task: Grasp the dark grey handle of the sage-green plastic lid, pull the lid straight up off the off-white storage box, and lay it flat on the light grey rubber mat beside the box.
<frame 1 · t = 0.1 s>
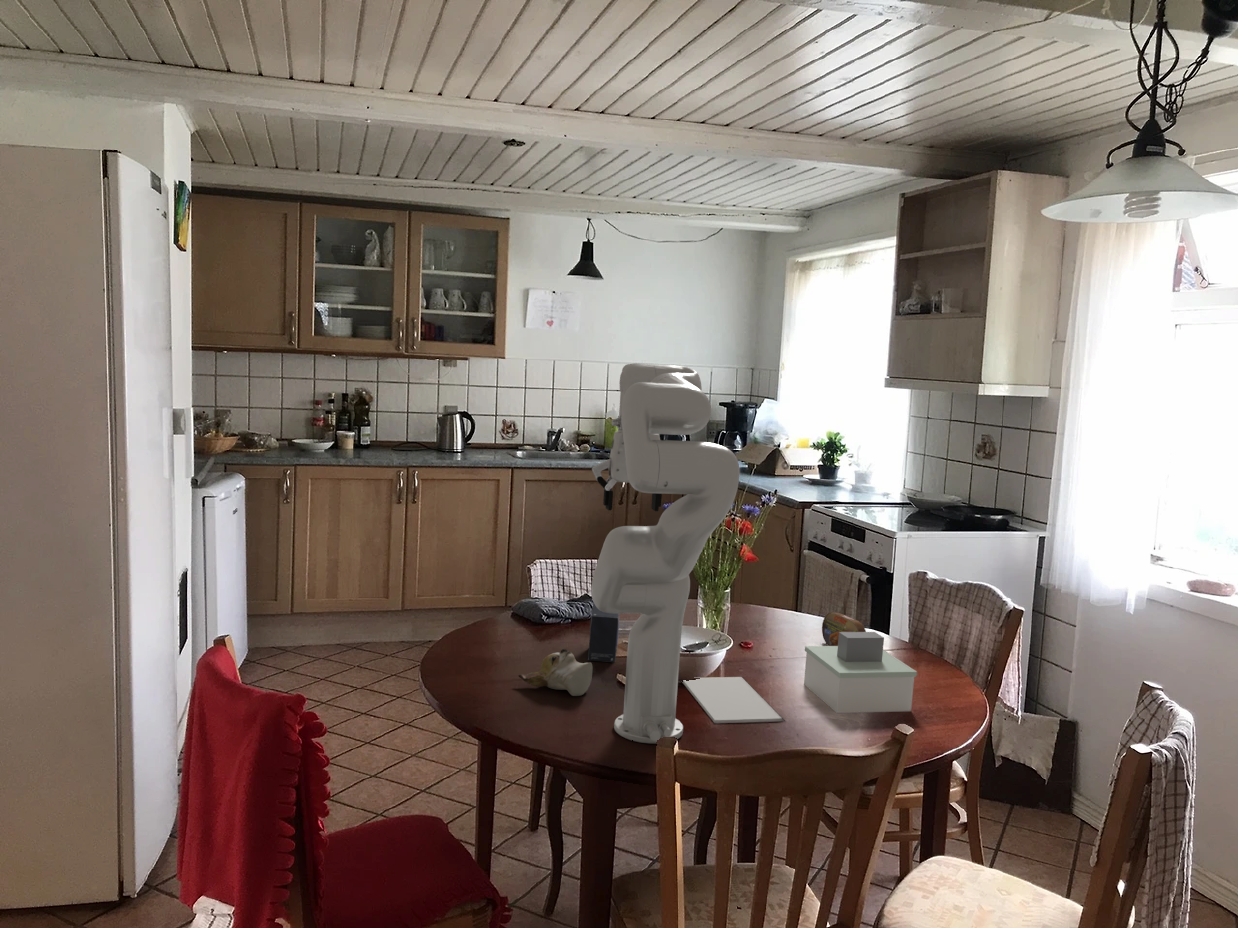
hand: (631, 509, 189), 37 cm above the table, fingers open, 9 cm apart
small box: (602, 656, 212), on the table
lid: (858, 669, 191), point 7 cm above the table, touching storage box
mat: (751, 699, 189), on the table
tin: (842, 650, 227), on the table
storage box: (855, 700, 192), on the table
ceramic sculpture: (560, 690, 189), on the table
ash block: (855, 697, 192), point 1 cm above the table, touching storage box
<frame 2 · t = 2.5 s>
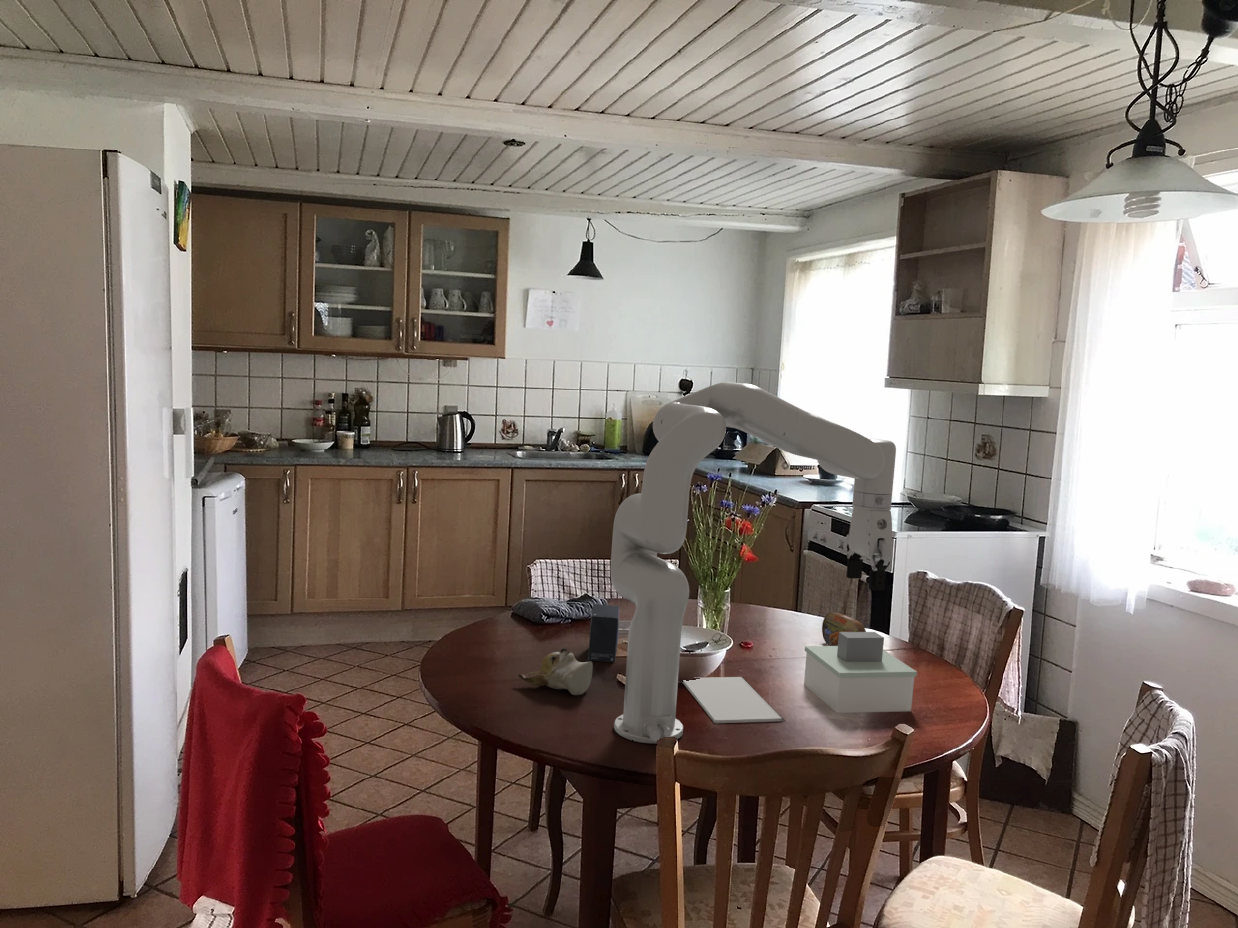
hand: (864, 583, 189), 25 cm above the table, fingers open, 9 cm apart
nothing on the table moved.
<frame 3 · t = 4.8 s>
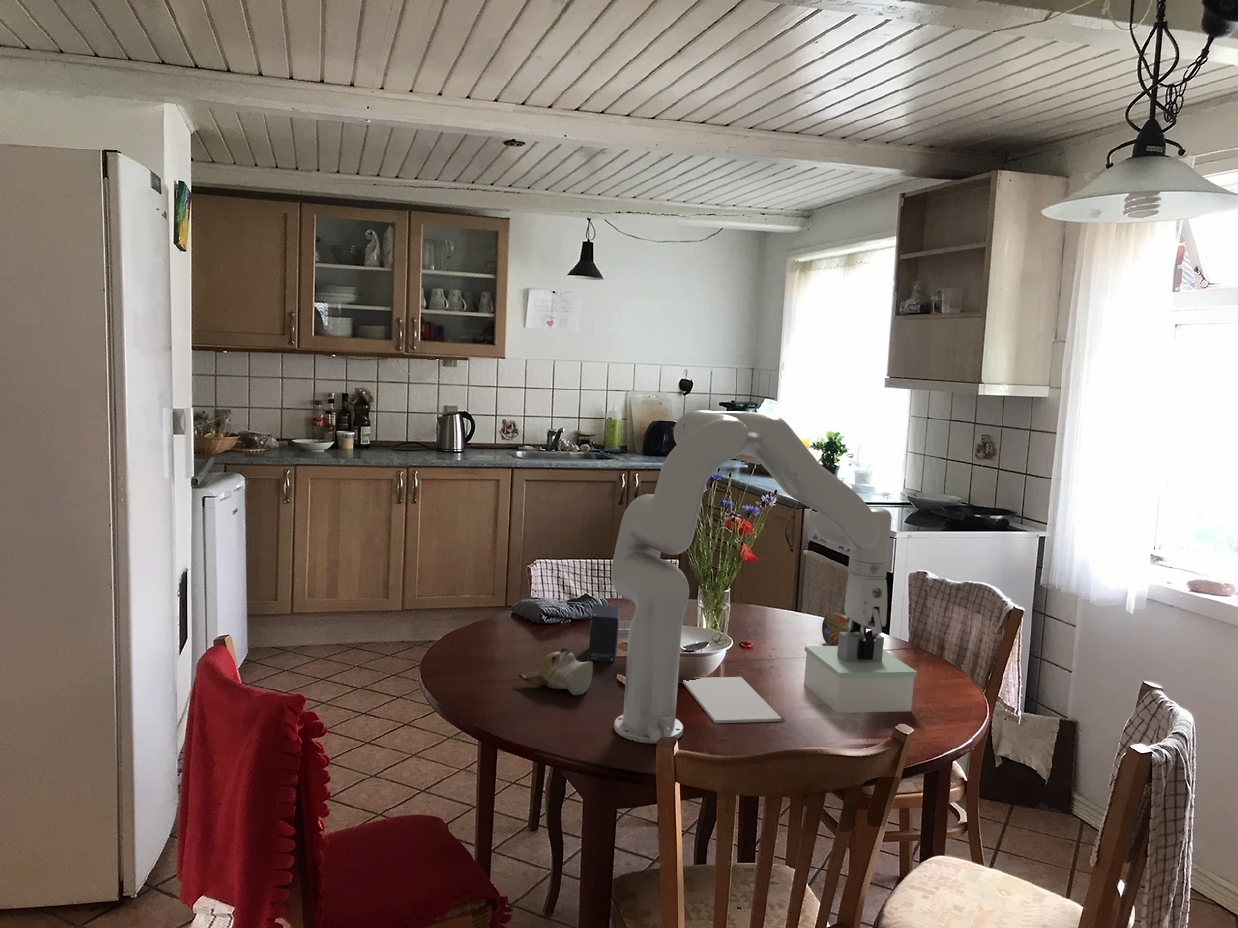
hand: (859, 654, 191), 10 cm above the table, fingers closed on lid, 4 cm apart
lid: (858, 669, 191), point 7 cm above the table, touching gripper, storage box
everything else where it was.
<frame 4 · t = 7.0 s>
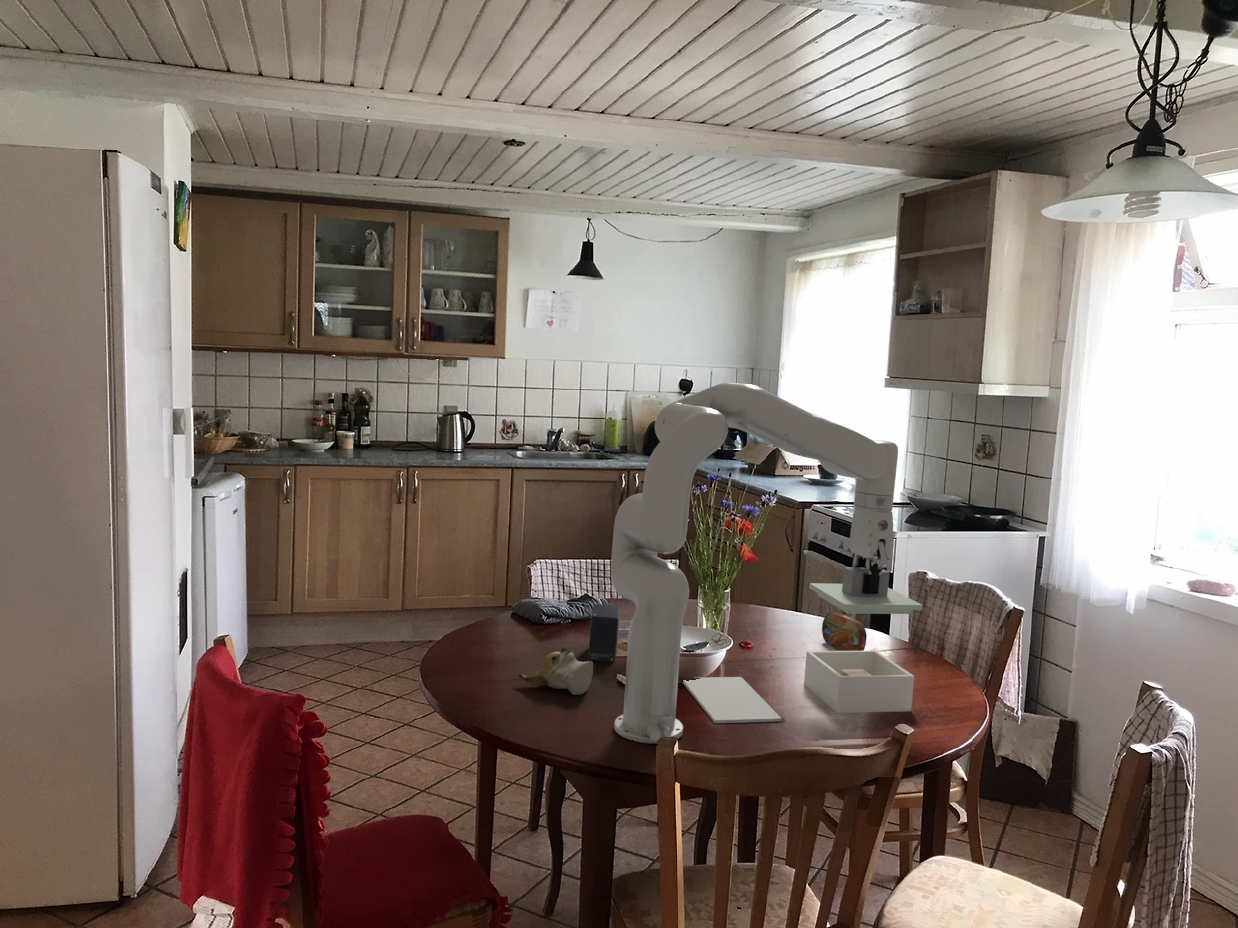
hand: (864, 589, 189), 23 cm above the table, fingers closed on lid, 4 cm apart
lid: (863, 604, 190), point 20 cm above the table, touching gripper
everything else where it was.
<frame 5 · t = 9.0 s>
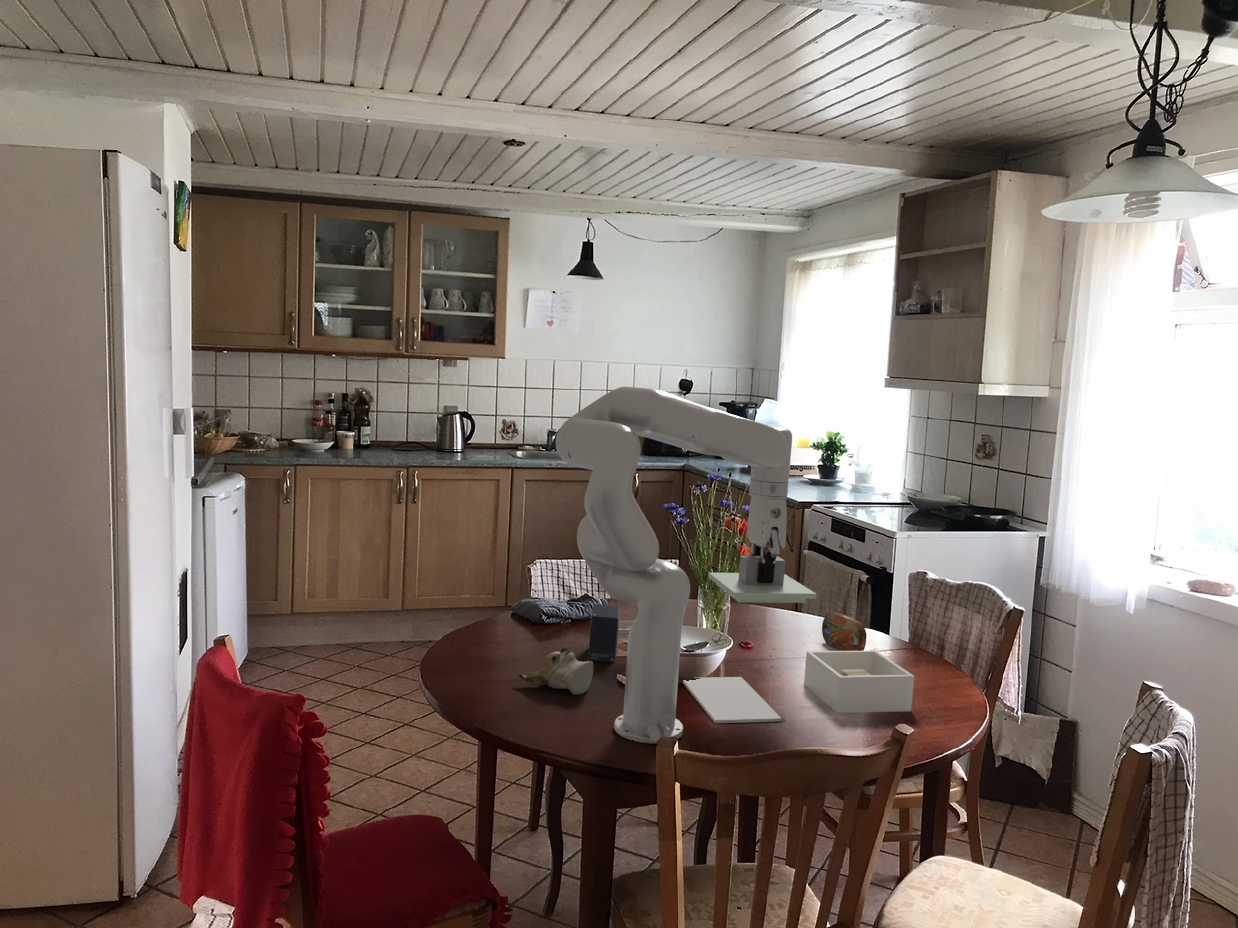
hand: (760, 579, 186), 25 cm above the table, fingers closed on lid, 4 cm apart
lid: (759, 593, 187), point 22 cm above the table, touching gripper
everything else where it was.
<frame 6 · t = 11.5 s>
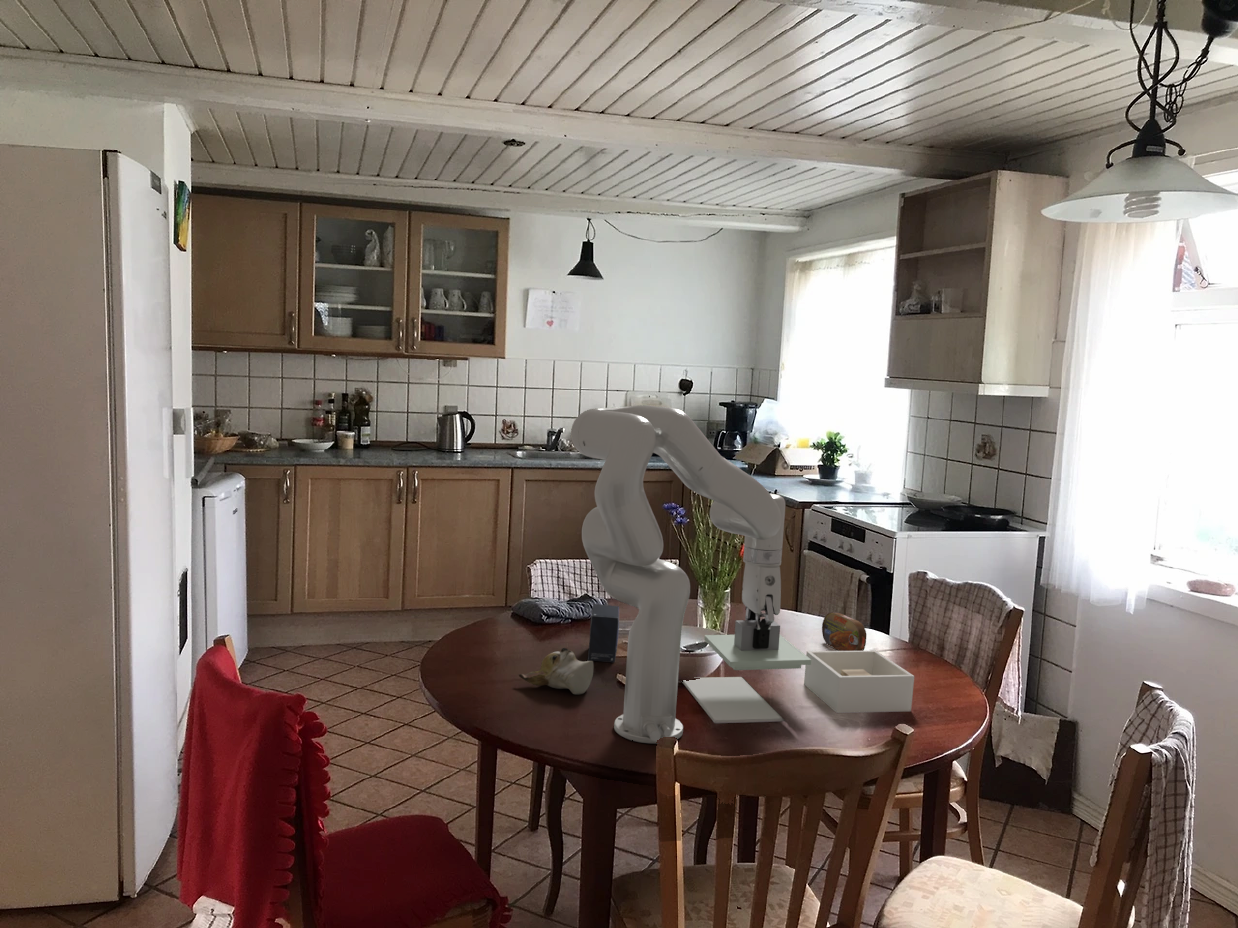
hand: (756, 643, 188), 12 cm above the table, fingers closed on lid, 4 cm apart
lid: (755, 657, 189), point 9 cm above the table, touching gripper
everything else where it was.
when the fingers open (5 cm above the table, at t = 13.6 s): lid drops 2 cm, resting on mat.
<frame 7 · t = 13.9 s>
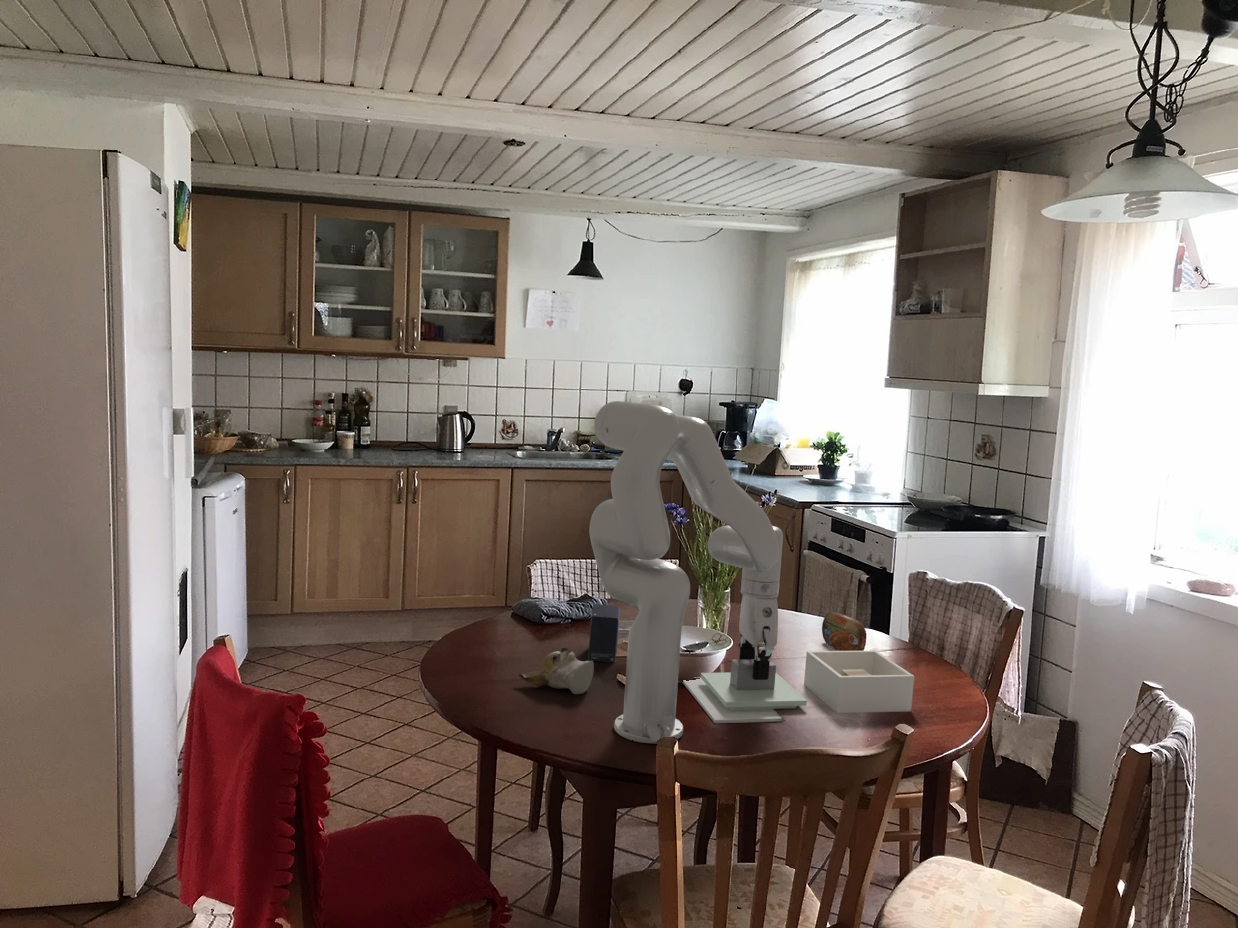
hand: (753, 671, 189), 6 cm above the table, fingers open, 7 cm apart
lid: (751, 696, 189), point 1 cm above the table, touching mat
everything else where it was.
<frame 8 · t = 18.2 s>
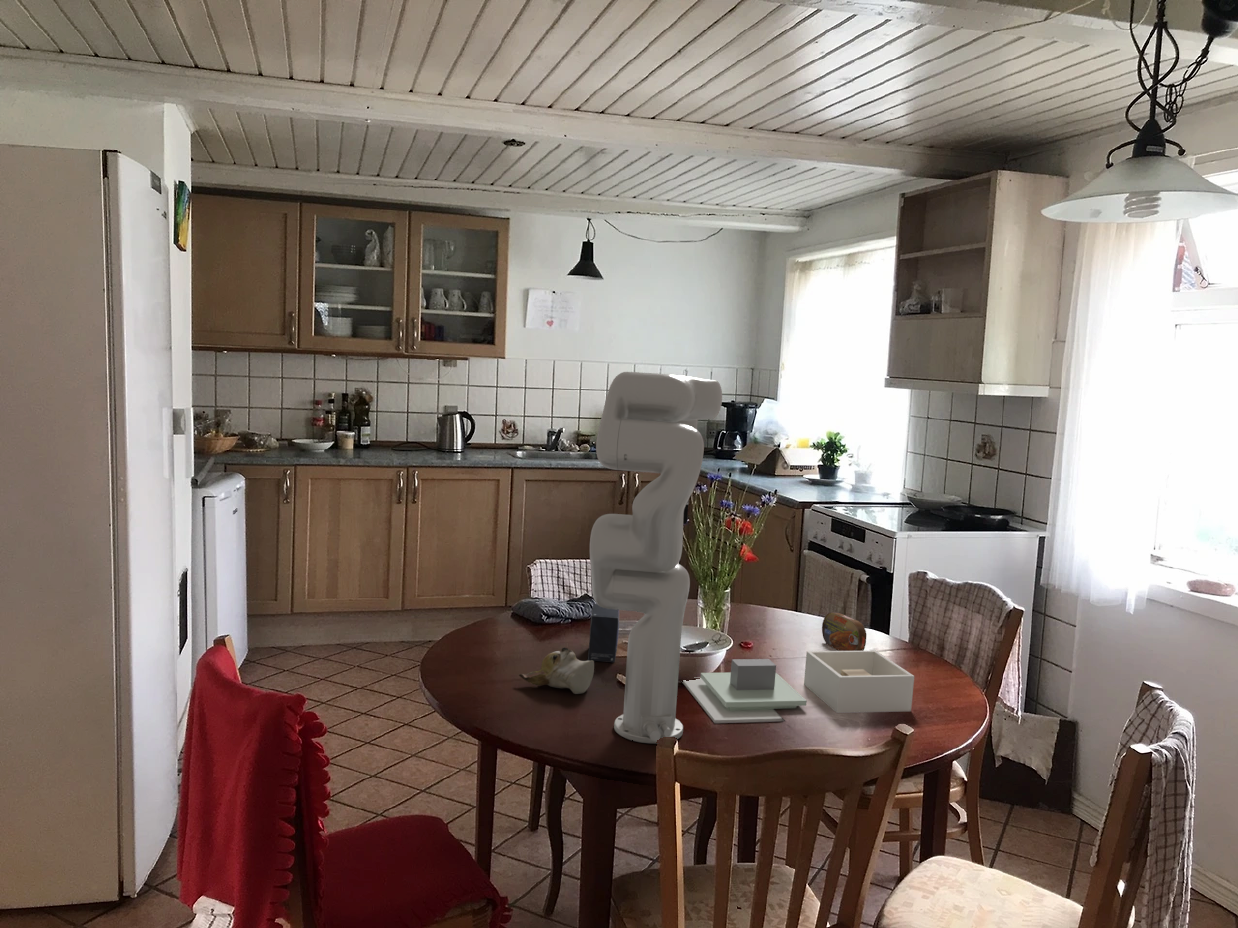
hand: (672, 519, 196), 34 cm above the table, fingers open, 9 cm apart
nothing on the table moved.
at the end: lid inside the target area on the mat (0.1 cm from its centre), point 0.6 cm above the mat's base; lid tilted 0°; the gripper is holding nothing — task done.
